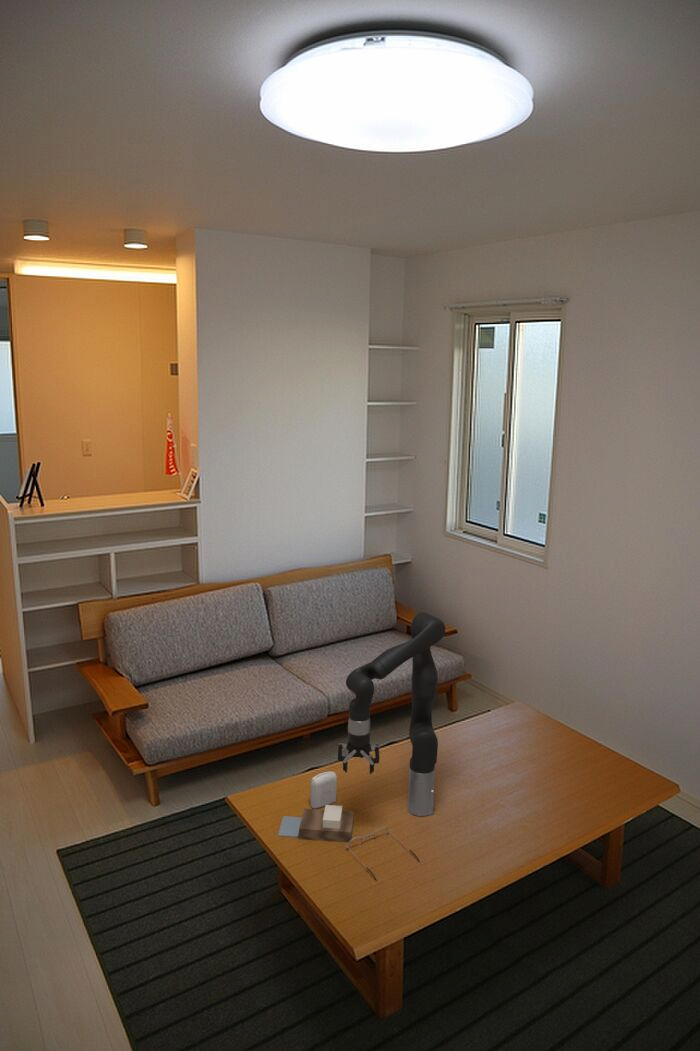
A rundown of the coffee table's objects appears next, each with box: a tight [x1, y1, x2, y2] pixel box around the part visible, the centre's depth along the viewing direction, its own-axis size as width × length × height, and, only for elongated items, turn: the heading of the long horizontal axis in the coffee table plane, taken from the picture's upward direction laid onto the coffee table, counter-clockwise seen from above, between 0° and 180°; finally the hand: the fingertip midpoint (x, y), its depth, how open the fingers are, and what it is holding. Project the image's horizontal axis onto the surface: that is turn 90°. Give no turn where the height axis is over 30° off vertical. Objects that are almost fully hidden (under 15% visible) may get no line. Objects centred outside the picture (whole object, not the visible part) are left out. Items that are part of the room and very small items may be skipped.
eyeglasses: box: [345, 826, 421, 882], centre depth 253 cm, size 18×19×4 cm
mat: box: [277, 815, 302, 838], centre depth 268 cm, size 7×11×1 cm, turn 176°
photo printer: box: [309, 771, 338, 809], centre depth 281 cm, size 10×4×12 cm, turn 123°
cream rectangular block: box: [323, 804, 343, 829], centre depth 265 cm, size 6×9×3 cm, turn 176°
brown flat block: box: [298, 808, 355, 843], centre depth 266 cm, size 18×12×4 cm, turn 86°
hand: (358, 772), depth 261 cm, fingers open, 8 cm apart
